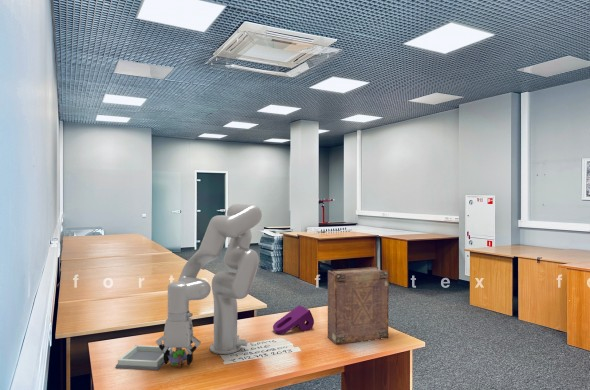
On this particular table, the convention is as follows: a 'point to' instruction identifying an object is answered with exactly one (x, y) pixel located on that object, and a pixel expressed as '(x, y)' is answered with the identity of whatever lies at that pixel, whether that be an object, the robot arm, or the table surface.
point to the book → (357, 304)
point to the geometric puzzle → (178, 357)
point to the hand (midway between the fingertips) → (178, 362)
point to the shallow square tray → (143, 358)
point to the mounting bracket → (295, 321)
